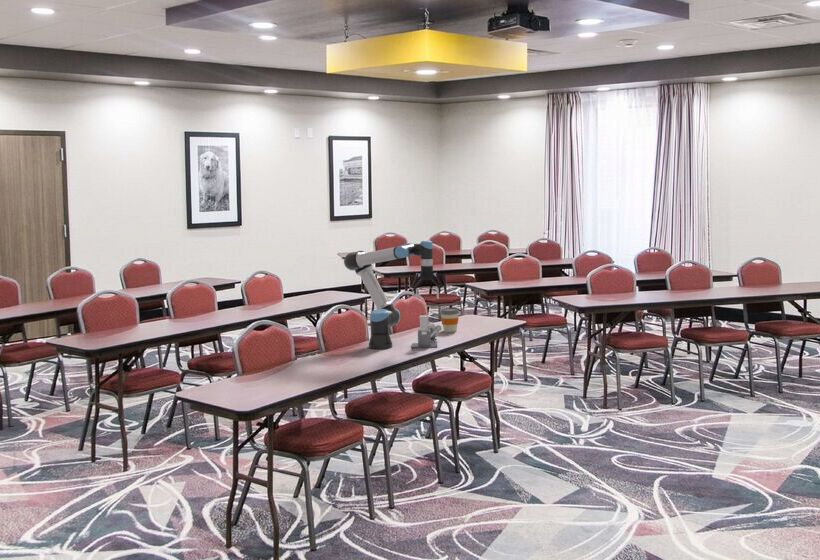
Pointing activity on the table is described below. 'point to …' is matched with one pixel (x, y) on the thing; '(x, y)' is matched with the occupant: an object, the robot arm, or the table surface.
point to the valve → (434, 330)
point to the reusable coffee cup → (449, 319)
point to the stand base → (424, 340)
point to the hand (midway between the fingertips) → (427, 298)
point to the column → (423, 323)
